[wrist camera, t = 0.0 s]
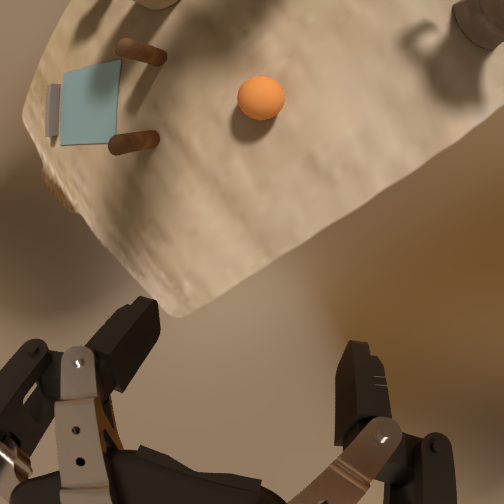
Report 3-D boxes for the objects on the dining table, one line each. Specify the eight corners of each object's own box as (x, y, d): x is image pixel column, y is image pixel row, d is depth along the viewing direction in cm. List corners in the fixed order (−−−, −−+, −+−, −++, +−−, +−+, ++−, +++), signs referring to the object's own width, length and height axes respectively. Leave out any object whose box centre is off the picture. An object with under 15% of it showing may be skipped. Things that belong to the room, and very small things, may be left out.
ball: (245, 78, 32) (234, 71, 27) (288, 82, 31) (284, 74, 26) (241, 118, 35) (229, 117, 30) (283, 123, 34) (279, 122, 29)
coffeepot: (511, 32, 17) (577, 16, 1) (502, 71, 22) (579, 63, 6) (434, -27, 17) (481, -78, 1) (422, 8, 22) (477, -43, 6)
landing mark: (64, 73, 35) (64, 73, 35) (121, 59, 33) (121, 59, 33) (61, 145, 41) (60, 145, 41) (115, 142, 39) (115, 142, 39)
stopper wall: (56, 85, 36) (47, 85, 34) (60, 84, 36) (51, 84, 34) (54, 135, 40) (45, 137, 38) (58, 134, 40) (48, 136, 38)
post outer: (145, 130, 37) (108, 135, 29) (160, 130, 37) (124, 134, 29) (144, 147, 39) (108, 155, 31) (159, 147, 38) (124, 155, 30)
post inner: (152, 51, 32) (117, 39, 24) (168, 49, 32) (134, 35, 24) (150, 66, 33) (114, 57, 25) (165, 65, 33) (131, 54, 25)
